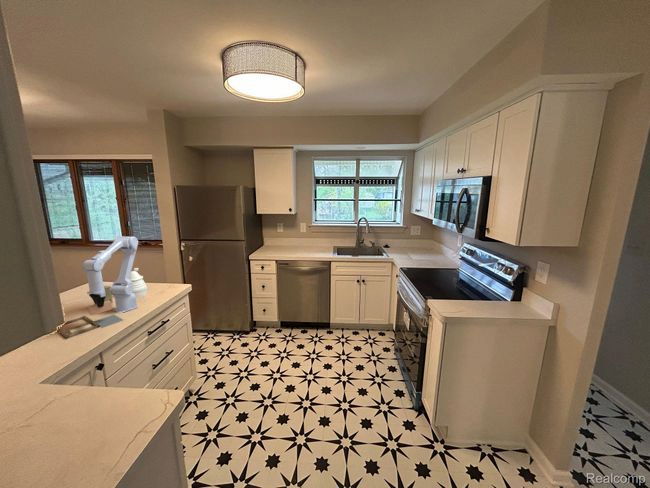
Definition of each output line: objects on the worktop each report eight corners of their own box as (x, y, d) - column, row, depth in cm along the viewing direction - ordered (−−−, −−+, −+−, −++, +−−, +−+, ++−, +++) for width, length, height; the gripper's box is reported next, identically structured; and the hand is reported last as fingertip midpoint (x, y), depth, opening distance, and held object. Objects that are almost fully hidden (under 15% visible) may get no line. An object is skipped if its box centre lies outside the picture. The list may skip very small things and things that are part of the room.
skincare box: (103, 309, 157) (100, 289, 155) (97, 308, 158) (94, 289, 156) (113, 304, 163) (110, 286, 161) (108, 303, 164) (105, 285, 162)
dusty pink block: (110, 308, 145) (109, 300, 144) (111, 309, 144) (110, 301, 143) (89, 314, 138) (88, 306, 137) (90, 315, 137) (89, 307, 136)
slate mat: (114, 315, 150) (113, 314, 150) (124, 320, 144) (124, 320, 144) (92, 322, 142) (91, 321, 142) (102, 328, 136) (101, 328, 136)
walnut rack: (85, 318, 146) (84, 315, 146) (100, 327, 137) (99, 325, 137) (52, 328, 135) (52, 325, 135) (67, 339, 126) (66, 336, 126)
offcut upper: (90, 326, 137) (90, 324, 137) (93, 328, 136) (92, 326, 135) (69, 332, 131) (69, 330, 131) (72, 334, 129) (71, 332, 129)
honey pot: (145, 289, 188) (142, 265, 184) (149, 294, 179) (145, 269, 175) (123, 293, 180) (119, 268, 176) (125, 299, 170) (121, 273, 167)
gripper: (80, 281, 138) (84, 305, 141) (91, 287, 130) (96, 312, 133) (97, 277, 144) (101, 301, 146) (108, 283, 136) (112, 307, 139)
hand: (99, 306), depth 140 cm, fingers closed on dusty pink block, 2 cm apart
